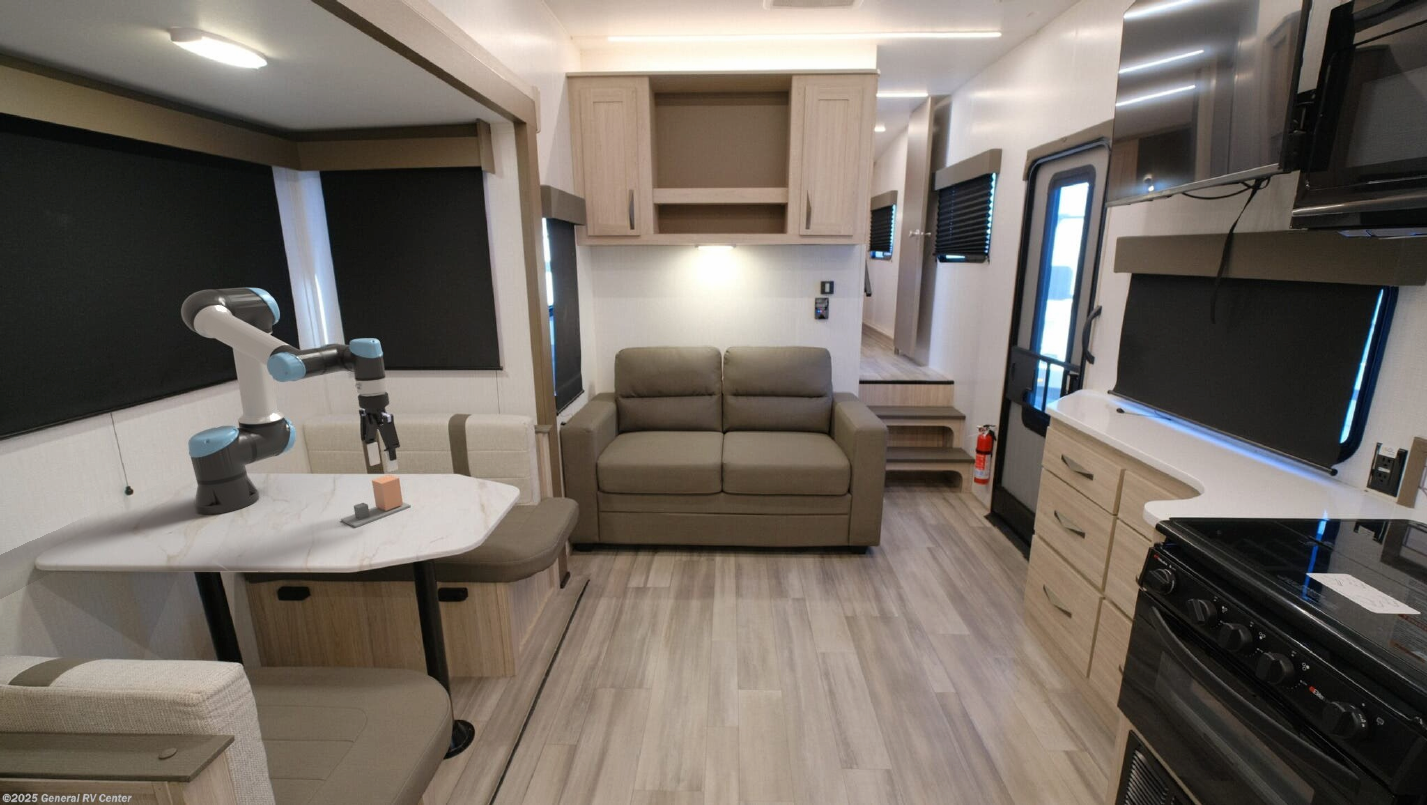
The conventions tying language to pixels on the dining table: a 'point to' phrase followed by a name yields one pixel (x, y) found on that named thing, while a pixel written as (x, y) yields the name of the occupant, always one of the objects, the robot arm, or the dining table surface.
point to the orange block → (387, 492)
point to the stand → (370, 514)
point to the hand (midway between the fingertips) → (384, 467)
